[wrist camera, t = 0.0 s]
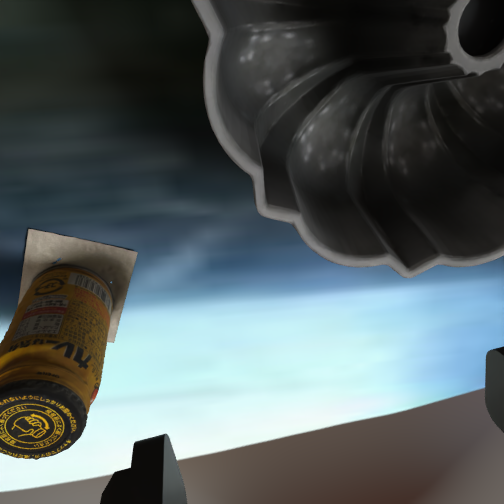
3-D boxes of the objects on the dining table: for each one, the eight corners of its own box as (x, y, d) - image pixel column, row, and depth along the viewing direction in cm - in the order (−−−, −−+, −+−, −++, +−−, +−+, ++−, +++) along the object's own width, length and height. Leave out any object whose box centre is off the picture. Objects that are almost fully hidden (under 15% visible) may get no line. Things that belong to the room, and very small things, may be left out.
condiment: (15, 326, 33) (-50, 468, 23) (29, 227, 30) (-39, 340, 20) (114, 341, 36) (96, 476, 25) (137, 250, 32) (128, 362, 22)
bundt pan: (414, 259, 37) (492, 333, 29) (109, 114, 28) (88, 160, 19) (660, -70, 29) (877, -106, 20) (339, -455, 19) (495, -853, 10)
